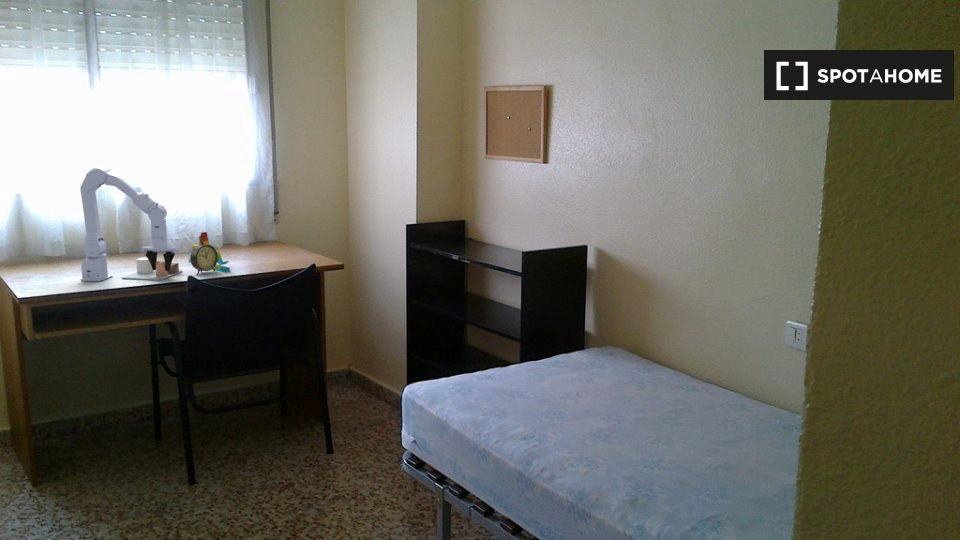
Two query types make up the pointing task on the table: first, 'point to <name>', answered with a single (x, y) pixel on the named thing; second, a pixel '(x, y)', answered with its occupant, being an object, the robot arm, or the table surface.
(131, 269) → the table surface
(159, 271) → the terracotta round block
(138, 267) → the cream block
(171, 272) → the walnut base block
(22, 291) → the table surface
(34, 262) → the table surface
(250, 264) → the table surface
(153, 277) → the building board
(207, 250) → the alarm clock
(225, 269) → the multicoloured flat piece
